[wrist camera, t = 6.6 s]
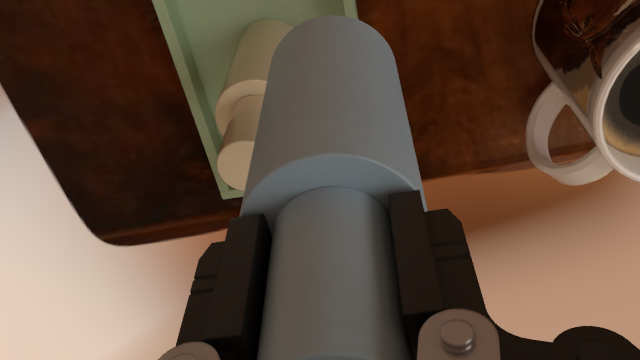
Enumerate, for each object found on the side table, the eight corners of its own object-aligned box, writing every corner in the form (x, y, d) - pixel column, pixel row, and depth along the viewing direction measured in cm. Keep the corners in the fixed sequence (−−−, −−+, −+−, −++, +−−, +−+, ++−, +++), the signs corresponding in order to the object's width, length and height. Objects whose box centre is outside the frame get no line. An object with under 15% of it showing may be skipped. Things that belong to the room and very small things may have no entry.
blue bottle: (255, 28, 20) (165, 338, 9) (387, 2, 19) (458, 301, 8) (286, 140, 22) (243, 488, 11) (403, 120, 22) (474, 466, 11)
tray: (134, -91, 33) (122, -82, 31) (334, -133, 32) (334, -126, 30) (227, 180, 44) (222, 199, 42) (380, 157, 43) (382, 176, 41)
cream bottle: (228, 25, 37) (185, 133, 26) (298, 12, 36) (283, 118, 25) (246, 89, 39) (214, 211, 28) (312, 78, 38) (304, 198, 28)
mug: (696, 75, 38) (807, 171, 29) (509, 124, 41) (558, 228, 32) (701, -92, 33) (841, -35, 24) (483, -23, 35) (534, 53, 26)
